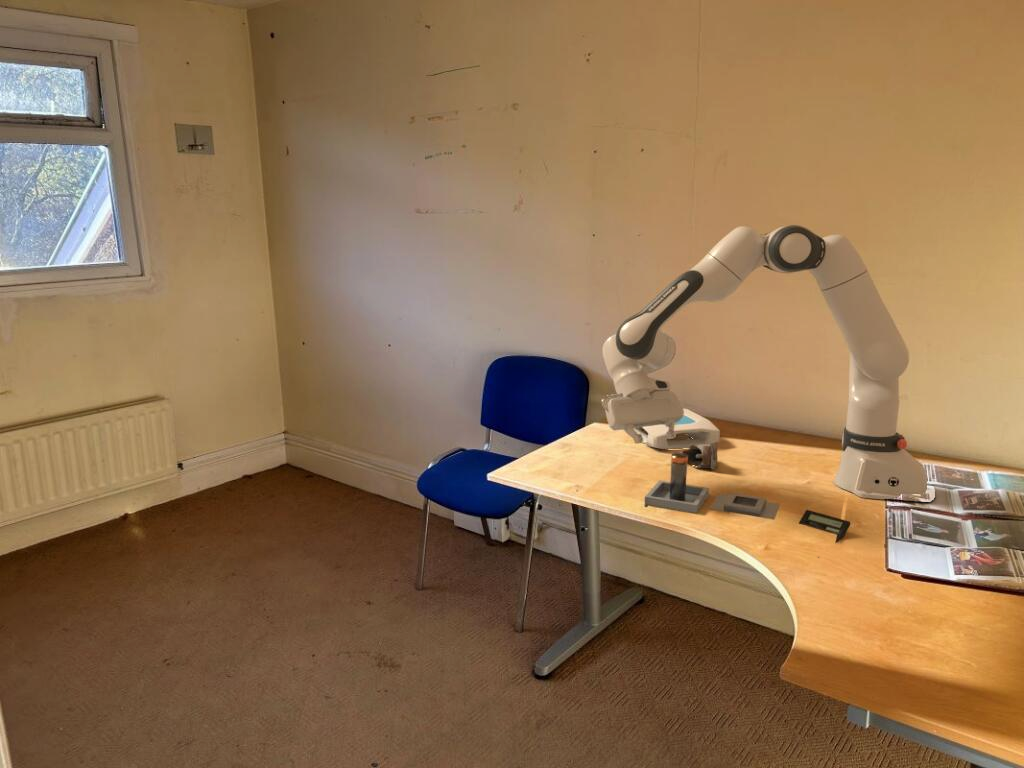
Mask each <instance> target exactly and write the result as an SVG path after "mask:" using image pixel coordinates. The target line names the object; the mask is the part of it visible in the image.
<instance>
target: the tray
mask: <svg viewBox="0 0 1024 768" xmlns="http://www.w3.org/2000/svg"><path fill="white" fill-rule="evenodd" d="M709 489H710V488H709V487H705V486H697V485H692V484H691V485H690V484H686V494H685V502H684V501H678V500H672V499H670V481H666V480H658V482H656V483H655V485H654V486H653V487H652V488H650V490H649V492H647V494H646V495H645V496H644V507H645V508H648V507H649V506H651V507H656V508H657V507H658V508H662V509H666V510H675V511H680V512H685V513H692V514H698V512H699V510H700V509H701V508H702V506H703V505H704V503H705V501H706V500H707V498H709V495H710V494H709V493H710V491H709Z"/></svg>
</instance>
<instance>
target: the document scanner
mask: <svg viewBox="0 0 1024 768" xmlns="http://www.w3.org/2000/svg"><path fill="white" fill-rule="evenodd" d="M682 408H683V407H682ZM683 410H684V415H683V417H682V418H681V419H680V420H679V421H678V422H676V423H675V426H674V431H675V433H676V435H677V434H684V433H685V434H684V435H686V434H687V435H686V436H688V435H689V436H690V437H692V438H693V439H692V438H690V437H689V436H688V437H689V439H684V440H668V438H667V436H666V432H668V429H669V427H666V425H665V424H661V425H653V426H646V427H638V428H634V430H635V431H636V432H637V433H638V434H641V435H642V438H643V441H642V443H643V444H646V445H647V446H646V445H645V446H646V447H650V448H656V449H660V450H664V449H665V451H669V450H668V449H683V448H690V446H691V445H703V444H713V443H719V442H720V435H721V434H720V433H721V430H720V429H719V428H718V427H717V426H716V425H715V424H714V423H713V422H712V421H710V419H707V418H706V417H704V416H702V415H700V414H698V413H696V412H694V411H692V410H690V409H688V408H683ZM640 429H641V430H640ZM643 430H644V431H643ZM622 431H624V432H625V433H626V431H625V429H623V430H622ZM642 443H641V444H642ZM643 444H642V445H643ZM683 450H684V449H683Z"/></svg>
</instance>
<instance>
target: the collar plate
mask: <svg viewBox="0 0 1024 768" xmlns="http://www.w3.org/2000/svg"><path fill="white" fill-rule="evenodd" d="M780 506H781V503H777V502H772V501H767V497H760V496H755V495H749V494H748V495H747V494H743V493H742V494H741V493H734V492H730V494H729V495H726V494H720V493H719V494H717V496H716V497H715V499H714V501H713V502H712V504H711V505H710V506H709V510H715V511H720V512H726V513H733V514H737V515H745V516H751V517H754V518H755V517H757V518H763V519H768V520H769V519H770V520H775V517H776V516H777V515H776V514H777V512H778V510H779V507H780Z"/></svg>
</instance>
